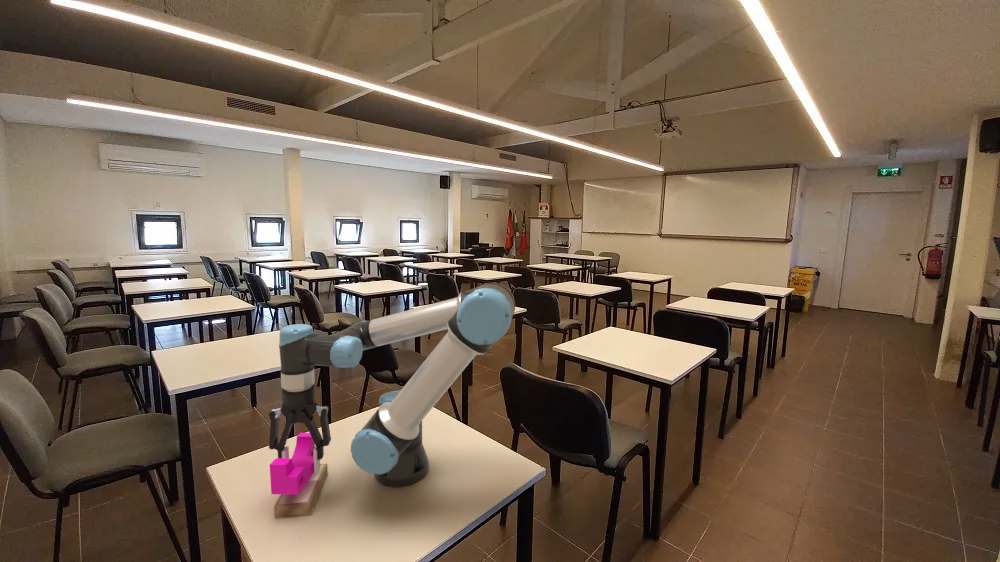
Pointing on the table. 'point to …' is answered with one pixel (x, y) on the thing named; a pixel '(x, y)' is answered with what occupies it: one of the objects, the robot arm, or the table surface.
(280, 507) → the base slab
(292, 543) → the table surface
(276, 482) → the magenta bracket
